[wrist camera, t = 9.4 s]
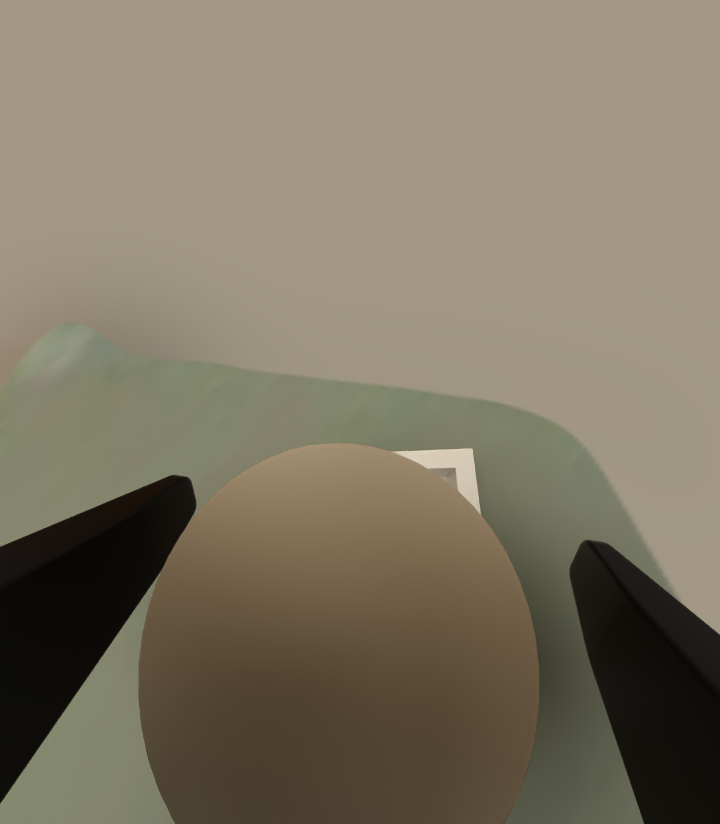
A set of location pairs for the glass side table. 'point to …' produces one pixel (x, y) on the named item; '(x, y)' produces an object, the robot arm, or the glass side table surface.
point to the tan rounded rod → (338, 651)
